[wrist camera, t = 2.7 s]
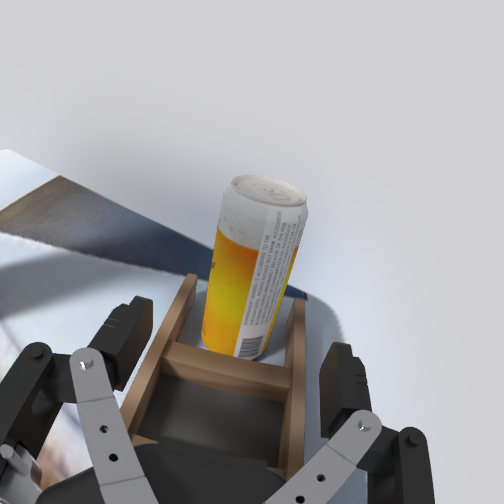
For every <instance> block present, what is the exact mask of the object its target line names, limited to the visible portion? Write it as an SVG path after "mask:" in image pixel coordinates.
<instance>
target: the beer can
mask: <svg viewBox="0 0 504 504" xmlns="http://www.w3.org/2000/svg"><path fill="white" fill-rule="evenodd" d="M306 199H307V197H306V194H305V193H304V192H303V191H302V190H300V189H299V188H297V187H295V186H293V185H291V184H289V183H286V182H283V181H281V180H277V179H274V178H269V177H264V176H255V175H244V176H238V177H235V178H233V180H232V182H231V185H230V186H229V187H228V189H227V190H226V191H225V193H224V195H223V199H222V205H221V210H220V217H219V222H218V228H217V234H216V240H215V246H214V252H213V258H212V264H211V271H210V277H209V284H208V290H207V297H206V304H205V310H204V317H203V324H202V331H201V336H202V340H203V343H204V344H205V346H206V347H207V348H208V349H209V350H210V351H213V352H217V353H221V354H225V355H229V356H233V357H238V358H242V359H246V360H253V359H255V358H257V357H259V356H260V355H261V354H262V353H263V352H264V351H265V349H266V347H267V344H268V341H269V338H270V335H271V332H272V329H273V326H274V323H275V320H276V317H277V314H278V310H279V307H280V304H281V301H282V298H283V295H284V292H285V289H286V286H287V282H288V279H289V276H290V273H291V269H292V266H293V263H294V260H295V257H296V253H297V250H298V247H299V243H300V240H301V237H302V234H303V230H304V226H305V223H306V220H307V216H308V210H307V204H306Z"/></svg>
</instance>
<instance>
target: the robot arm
mask: <svg viewBox="0 0 504 504" xmlns="http://www.w3.org/2000/svg"><path fill="white" fill-rule="evenodd" d="M152 329H153V301H152V300H151V299H147V298H143V297H140V296H135V297H134V298H133V300H132V301H131V303H130V304H129V305H126V304H121V305H120V306H118V307H116V308H115V309H113V311H112V312H111V314H110V315H109V316H108V318H107V319H106V321H105V322H104V325H102V326H101V328H100V329H99V331H98V332H97V333H96V335H95V336H94V338H93V339H92V341H91V342H90V344H89V345H88V346H87V348H81V349H78V350H76V351H75V352H74V353H73V354H72V355H66V354H56V353H52V351H51V348H50V347H49V346H48V345H47V344H45V343H42V342H34V343H31V344H29V345H27V346H26V347H25V348H24V349H23V351H22V352H21V354H20V355H19V357H18V358H17V359H16V361H15V362H14V364H13V365H12V367H11V368H10V370H9V371H8V373H7V374H6V376H5V377H4V379H3V380H2V382H1V383H0V503H2V504H326V503H327V502H328V501H329V500H330V499H331V498H332V496H333V495H334V494H335V493H336V492H337V491H338V489H339V488H340V487H341V486H342V485H343V483H344V482H345V481H346V480H347V479H348V477H349V476H350V475H351V474H352V472H353V471H354V470H355V468H359V469H362V470H365V471H367V476H368V504H435V498H434V489H433V481H432V473H431V466H430V459H429V452H428V446H427V440H426V437H425V435H424V434H423V433H422V432H421V431H420V430H419V429H417V428H414V427H406V428H404V429H402V430H401V431H400V432H398V431H395V430H392V429H389V428H387V427H385V426H383V425H382V424H381V421H380V419H379V418H378V417H377V416H376V415H375V414H374V413H372V408H371V401H370V395H369V389H368V385H367V378H366V372H365V367H364V365H363V363H362V362H361V360H360V359H359V357H353V355H352V349H351V345H350V344H345V343H339V342H333V343H332V345H331V347H330V349H329V351H328V353H327V355H326V357H325V359H324V361H323V363H322V366H321V369H320V374H319V386H320V421H321V438H329V441H328V443H327V444H325V445H324V446H323V447H322V448H321V449H320V450H319V451H318V452H317V453H316V454H315V455H314V456H313V457H312V458H311V459H310V460H309V461H308V462H307V463H306V464H305V465H304V466H303V467H302V468H301V469H300V470H299V471H298V472H297V473H296V474H295V475H294V476H293V477H292V478H291V479H290V480H289V481H287V480H286V479H285V478H283V477H282V476H281V475H279V474H278V473H276V472H275V471H273V470H271V469H268V468H266V467H267V461H263V460H257V459H251V458H245V457H211V456H209V455H207V454H204V453H202V452H200V451H198V450H196V449H194V448H192V447H190V446H188V445H186V444H183V443H179V442H176V441H172V440H169V439H165V438H162V437H160V439H159V441H158V443H145V444H139V445H135V446H132V443H131V441H130V438H129V435H128V433H127V430H126V427H125V424H124V422H123V419H122V416H121V413H120V410H119V407H118V404H117V401H116V398H115V396H114V394H113V392H114V390H118V391H121V392H123V390H124V388H125V386H126V384H127V382H128V380H129V378H130V376H131V374H132V372H133V370H134V368H135V366H136V364H137V362H138V360H139V358H140V356H141V354H142V352H143V350H144V348H145V347H146V345H147V343H148V341H149V339H150V336H151V333H152ZM64 402H66V403H75V404H77V409H78V414H79V418H80V422H81V426H82V430H83V434H84V437H85V441H86V444H87V448H88V451H89V455H90V458H91V461H92V464H93V467H91V468H89V469H87V470H85V471H83V472H80V473H78V474H76V475H74V476H72V477H70V478H68V479H66V480H63V481H61V482H59V483H57V484H54V485H52V486H50V487H48V488H46V489H45V490H44V491H43V492H42V490H41V486H40V481H41V476H42V472H41V468H40V466H39V464H38V463H37V462H36V459H37V457H38V455H39V453H40V450H41V448H42V446H43V444H44V442H45V440H46V437H47V435H48V433H49V431H50V429H51V427H52V425H53V423H54V421H55V419H56V417H57V415H58V413H59V411H60V409H61V407H62V405H63V403H64Z"/></svg>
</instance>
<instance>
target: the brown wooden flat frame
mask: <svg viewBox="0 0 504 504" xmlns="http://www.w3.org/2000/svg"><path fill="white" fill-rule="evenodd" d="M197 277H198V275H195V274H191V273H188V274H187V276H186V278H185V280H184V282H183V284H182V285H181V287H180V289H179V291H178V293H177V295H176V297H175V299H174V301H173V303H172V305H171V307H170V308H169V310H168V312H167V314H166V316H165V318H164V320H163V322H162V324H161V326H160V328H159V330H158V332H157V334H156V336H155V338H154V340H153V342H152V344H151V346H150V348H149V350H148V352H147V354H146V356H145V358H144V360H143V362H142V364H141V366H140V368H139V370H138V372H137V374H136V377H135V379H134V381H133V383H132V385H131V387H130V389H129V391H128V393H127V395H126V398H125V400H124V402H123V404H122V406H121V408H120V413H121V416H122V419H123V422H124V424H125V427H126V430H127V433H128V435H129V438H130V441H131V443H132V446H135V445H139V444H145V443H158V441H159V439H160V437H162V438H165V439H169V440H172V441H176V442H179V443H183V444H186V445H188V446H190V447H192V448H194V449H196V450H198V451H200V452H202V453H204V454H207V455H209V456H211V457H245V458H251V459H257V460H263V461H267V467H266V468H268V469H271V470H273V471H275V472H276V473H278V474H279V475H281V476H282V477H283V478H285V479H286V480H287V481H289V480H290V479H291V478H292V477H293V476H294V475H295V474H296V473H297V472H298V471H299V470H300V469H301V468H302V467H303V463H304V434H305V300H301V299H296V298H295V300H294V303H293V306H292V309H291V312H290V314H289V317H288V320H287V337H286V354H285V367H280V366H275V365H270V364H265V363H260V362H255V361H251V360H246V359H242V358H238V357H233V356H229V355H225V354H221V353H217V352H213V351H209V350H205V349H201V348H197V347H193V346H190V345H186V344H182V343H179V342H176V340H177V338H178V336H179V333H180V331H181V329H182V326H183V324H184V322H185V320H186V317H187V315H188V313H189V310H190V308H191V306H192V304H193V301H194V299H195V292H196V284H197Z"/></svg>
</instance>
